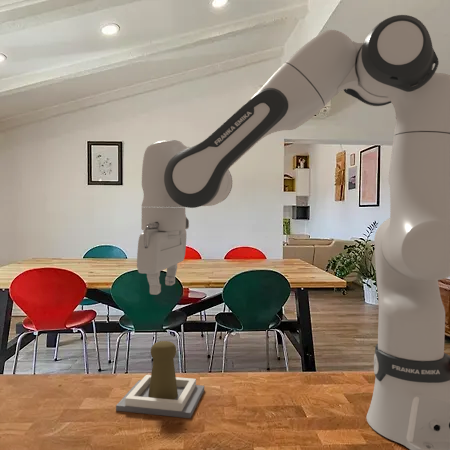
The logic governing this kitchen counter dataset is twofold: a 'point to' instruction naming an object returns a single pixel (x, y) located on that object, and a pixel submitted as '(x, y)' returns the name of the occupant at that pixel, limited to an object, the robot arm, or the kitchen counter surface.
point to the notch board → (177, 407)
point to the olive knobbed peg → (163, 371)
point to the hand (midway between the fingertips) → (163, 289)
